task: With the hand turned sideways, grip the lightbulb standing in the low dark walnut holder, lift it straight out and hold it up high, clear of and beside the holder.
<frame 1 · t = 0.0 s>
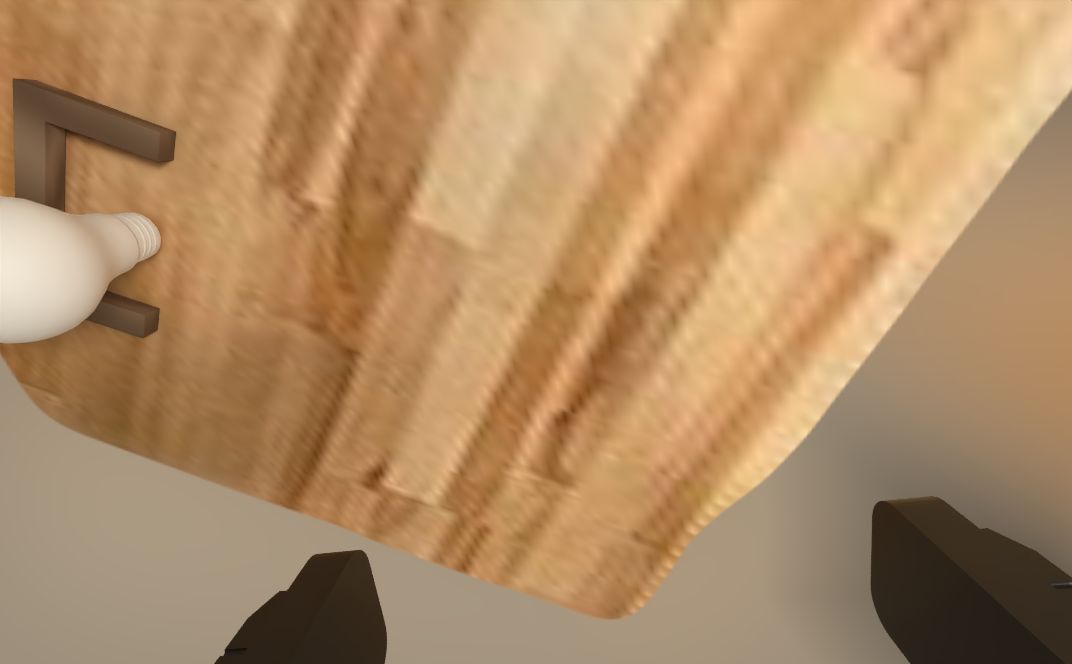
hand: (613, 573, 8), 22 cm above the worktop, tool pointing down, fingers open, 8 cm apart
walnut holder: (147, 232, 29), on the worktop
lightbulb: (150, 231, 29), on the worktop
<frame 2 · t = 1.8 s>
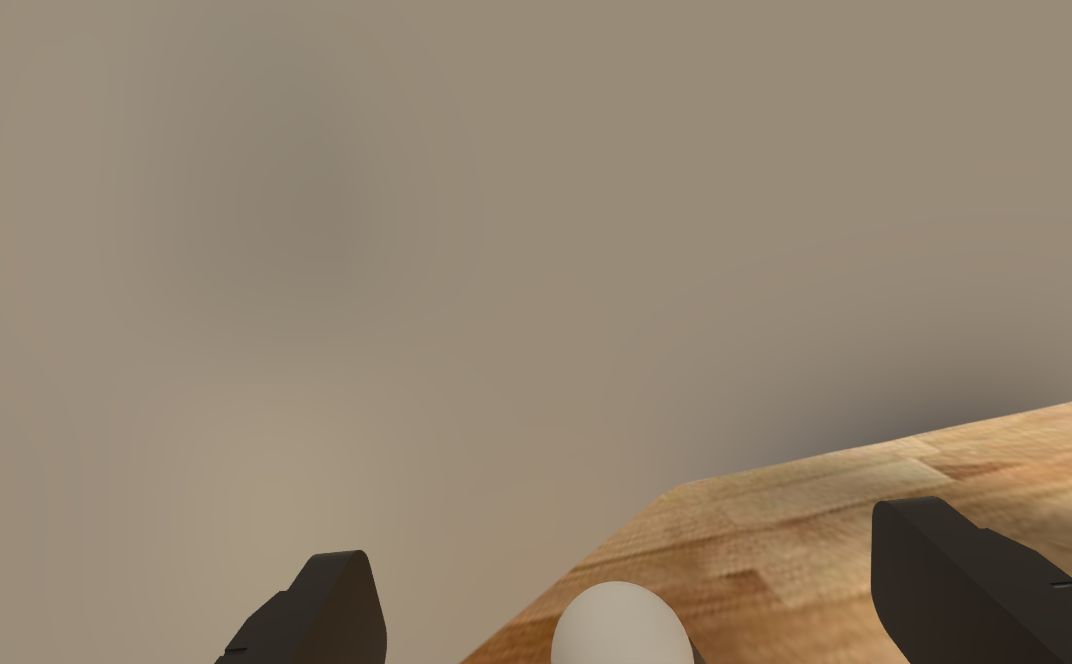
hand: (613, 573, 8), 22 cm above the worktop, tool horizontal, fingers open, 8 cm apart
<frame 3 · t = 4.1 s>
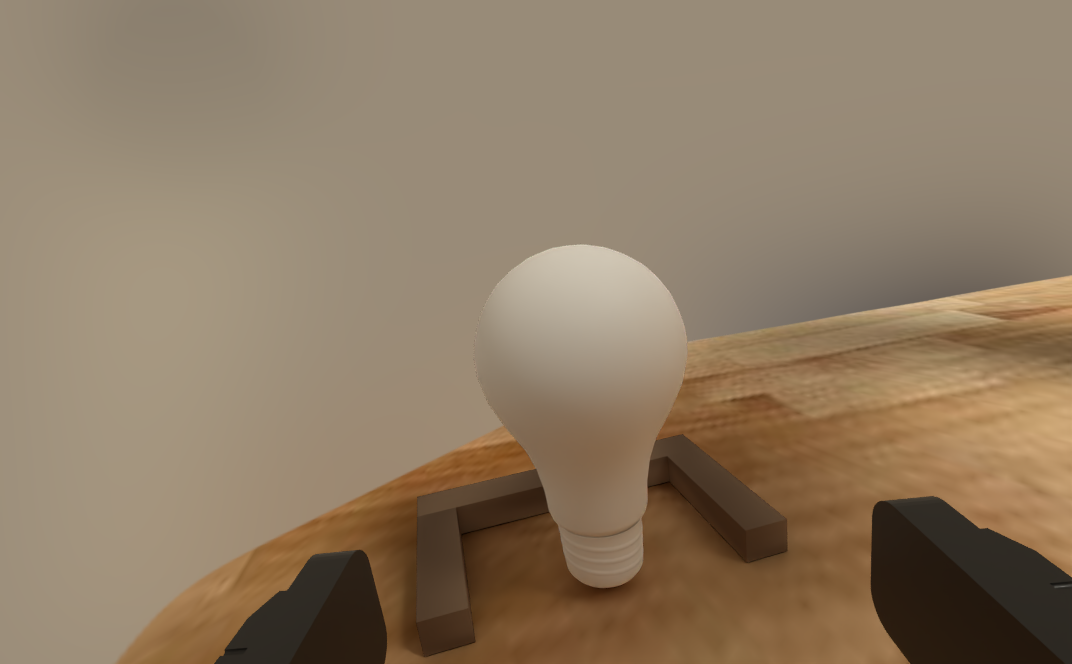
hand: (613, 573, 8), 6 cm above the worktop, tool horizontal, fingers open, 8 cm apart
walnut holder: (606, 578, 17), on the worktop
lightbulb: (607, 584, 17), on the worktop
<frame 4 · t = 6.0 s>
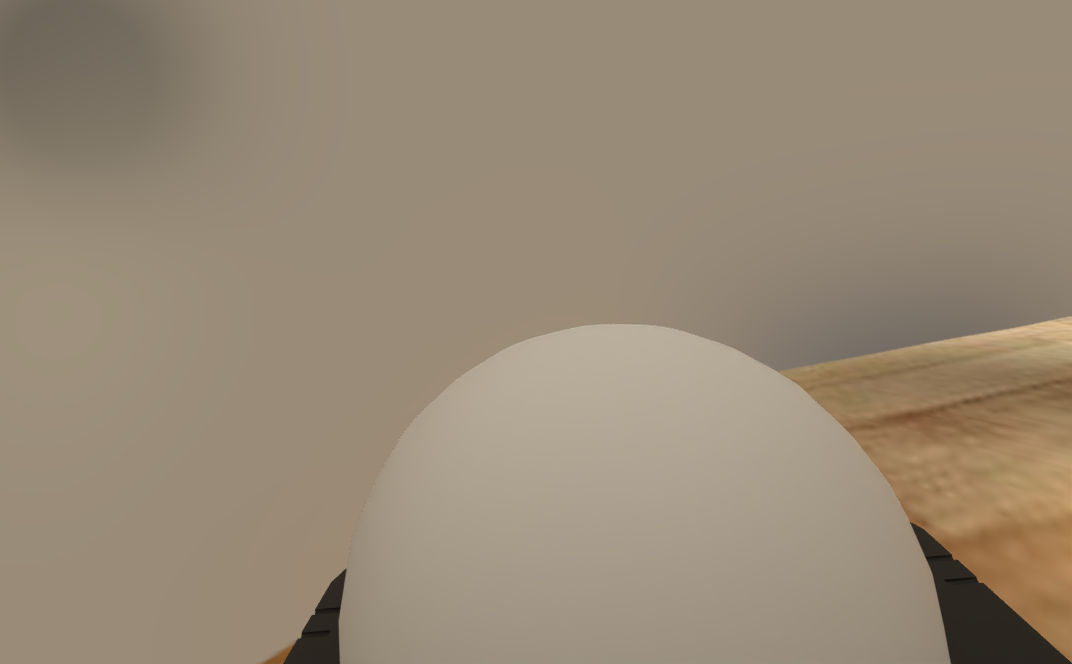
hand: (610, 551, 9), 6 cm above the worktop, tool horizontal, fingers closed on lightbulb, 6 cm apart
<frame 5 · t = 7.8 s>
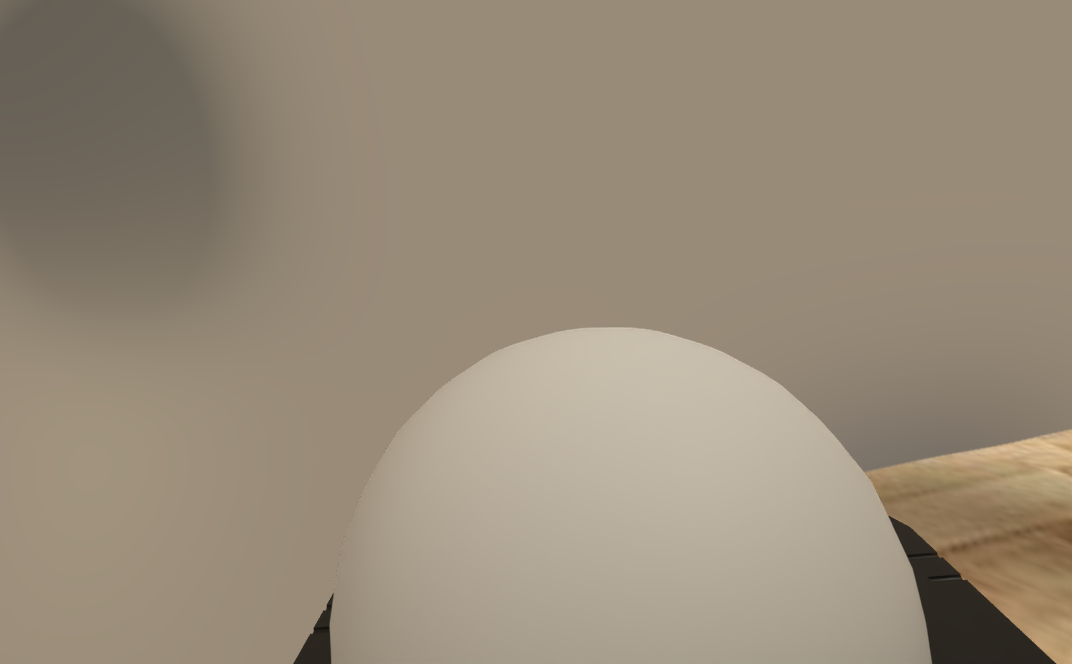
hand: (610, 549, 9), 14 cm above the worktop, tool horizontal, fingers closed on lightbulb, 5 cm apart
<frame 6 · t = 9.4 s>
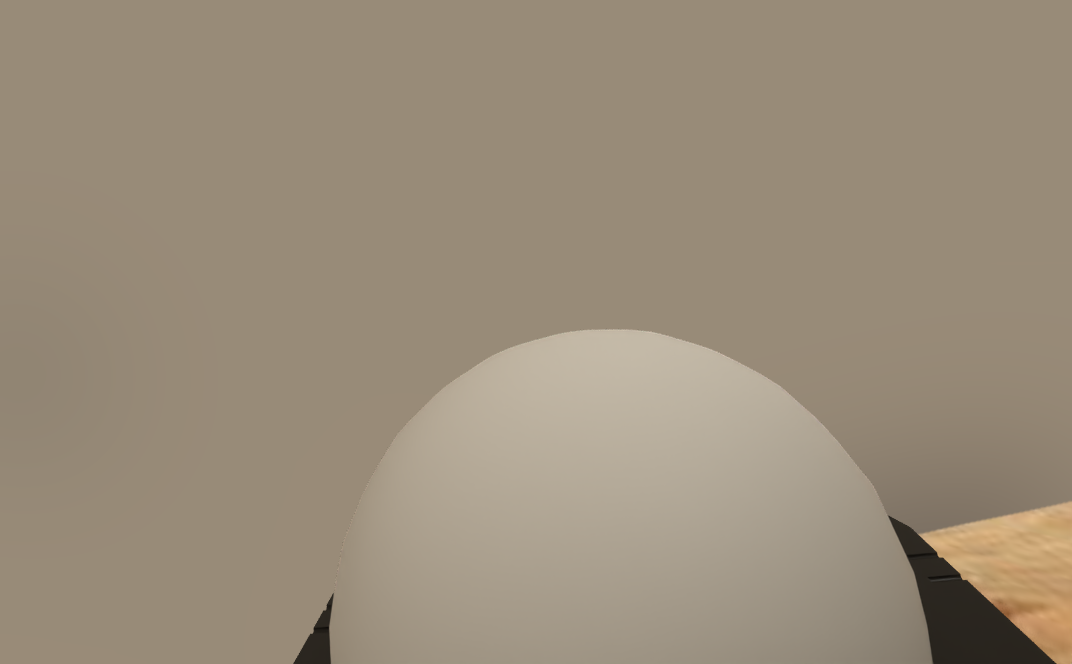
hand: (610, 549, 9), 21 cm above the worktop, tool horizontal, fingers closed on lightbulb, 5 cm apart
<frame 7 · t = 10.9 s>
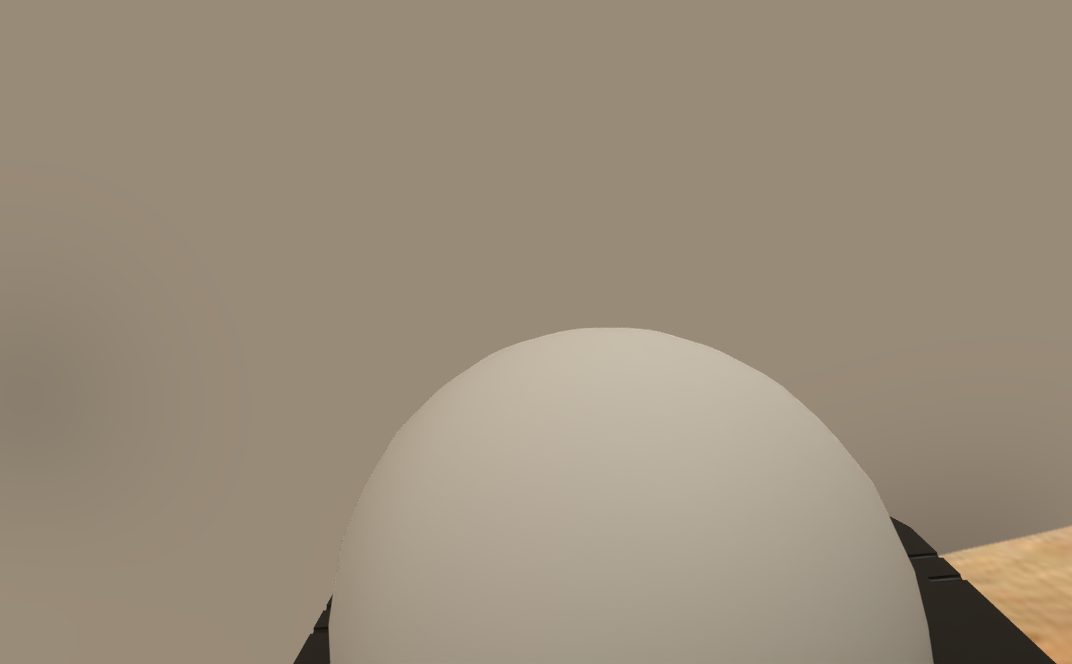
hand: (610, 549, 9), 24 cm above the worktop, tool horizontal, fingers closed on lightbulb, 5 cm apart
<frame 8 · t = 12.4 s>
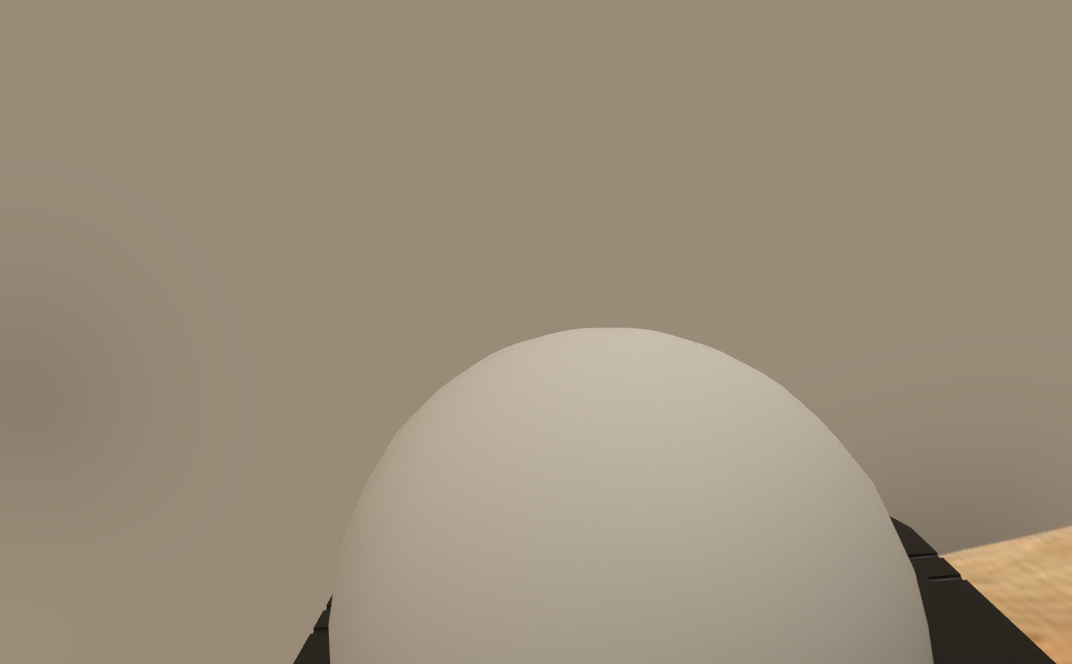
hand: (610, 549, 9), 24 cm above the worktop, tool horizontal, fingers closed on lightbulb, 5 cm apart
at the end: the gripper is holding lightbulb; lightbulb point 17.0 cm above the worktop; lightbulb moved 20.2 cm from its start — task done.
